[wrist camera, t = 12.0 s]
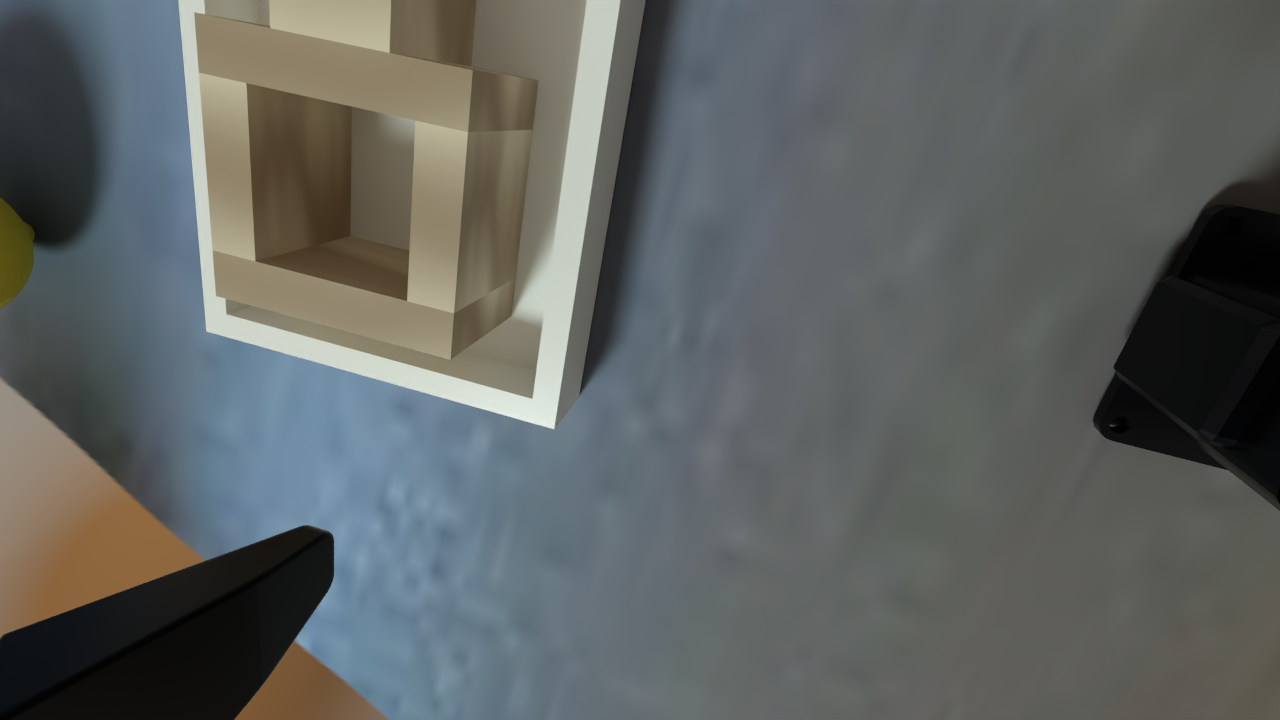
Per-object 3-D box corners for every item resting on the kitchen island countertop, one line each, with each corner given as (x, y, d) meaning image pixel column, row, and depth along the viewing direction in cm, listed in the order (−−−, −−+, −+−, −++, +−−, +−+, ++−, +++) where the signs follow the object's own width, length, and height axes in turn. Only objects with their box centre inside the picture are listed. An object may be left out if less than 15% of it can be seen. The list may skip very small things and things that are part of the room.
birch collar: (511, 316, 20) (450, 360, 17) (314, 265, 21) (215, 296, 17) (566, -163, 15) (497, -251, 12) (308, -203, 16) (170, -296, 13)
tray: (235, -316, 16) (145, -387, 14) (689, -257, 15) (671, -325, 12) (264, 310, 23) (206, 331, 21) (579, 396, 21) (554, 429, 19)
